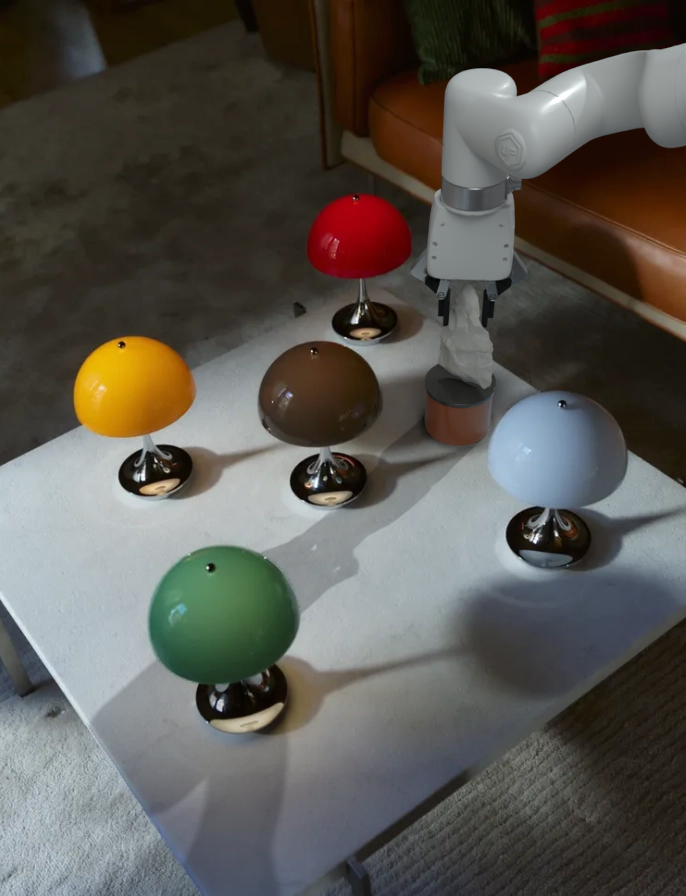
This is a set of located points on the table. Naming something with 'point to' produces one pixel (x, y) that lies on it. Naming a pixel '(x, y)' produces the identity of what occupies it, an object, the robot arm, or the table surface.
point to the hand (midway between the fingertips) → (465, 319)
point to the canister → (457, 408)
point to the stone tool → (466, 341)
